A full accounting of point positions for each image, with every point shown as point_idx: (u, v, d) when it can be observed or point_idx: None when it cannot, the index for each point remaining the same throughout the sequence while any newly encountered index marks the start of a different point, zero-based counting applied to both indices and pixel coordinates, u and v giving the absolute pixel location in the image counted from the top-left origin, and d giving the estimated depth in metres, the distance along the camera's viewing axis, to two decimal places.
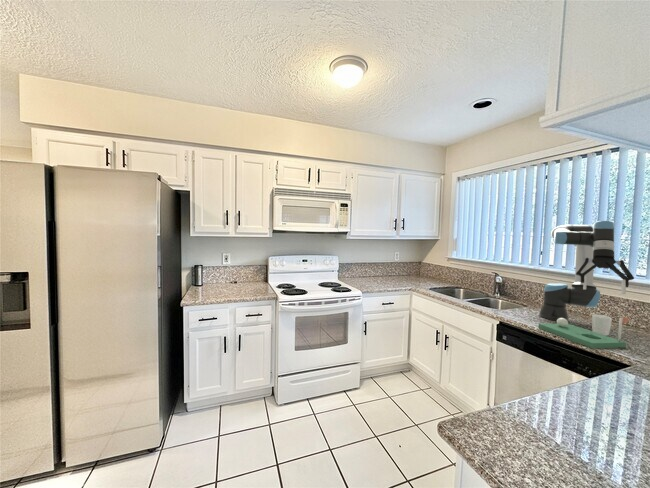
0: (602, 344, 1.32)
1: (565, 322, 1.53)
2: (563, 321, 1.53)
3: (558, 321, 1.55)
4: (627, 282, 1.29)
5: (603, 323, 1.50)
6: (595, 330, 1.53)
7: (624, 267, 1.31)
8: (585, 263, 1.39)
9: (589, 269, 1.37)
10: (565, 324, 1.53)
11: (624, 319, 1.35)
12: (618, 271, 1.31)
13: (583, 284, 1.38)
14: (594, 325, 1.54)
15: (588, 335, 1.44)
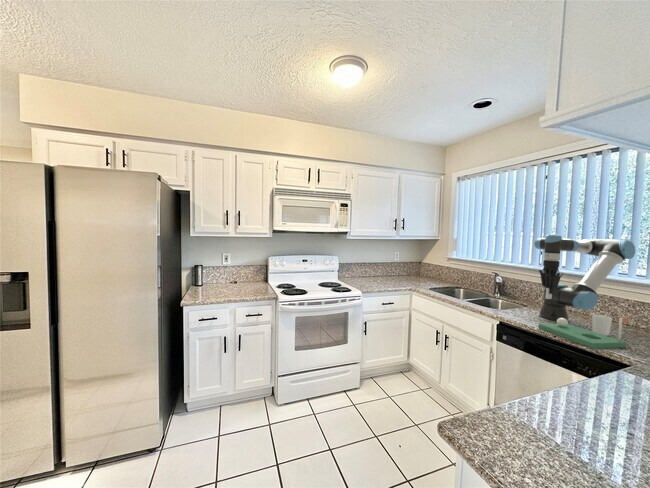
0: (602, 344, 1.32)
1: (565, 322, 1.53)
2: (563, 321, 1.53)
3: (558, 321, 1.55)
4: (550, 290, 1.62)
5: (603, 323, 1.50)
6: (595, 330, 1.53)
7: (555, 278, 1.59)
8: (541, 275, 1.67)
9: (545, 280, 1.64)
10: (565, 324, 1.53)
11: (624, 319, 1.35)
12: (550, 280, 1.62)
13: None
14: (594, 325, 1.54)
15: (588, 335, 1.44)
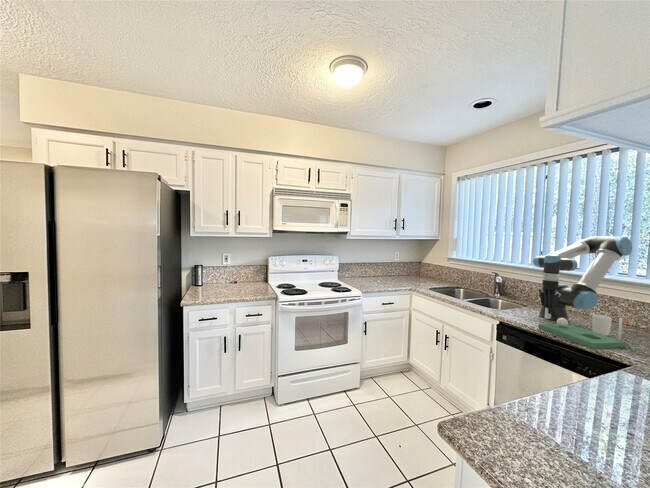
0: (602, 344, 1.32)
1: (565, 322, 1.53)
2: (563, 321, 1.53)
3: (558, 321, 1.55)
4: (549, 310, 1.62)
5: (603, 323, 1.50)
6: (595, 330, 1.53)
7: (554, 298, 1.59)
8: (540, 294, 1.68)
9: (545, 299, 1.65)
10: (565, 324, 1.53)
11: (624, 319, 1.35)
12: (549, 300, 1.62)
13: None
14: (594, 325, 1.54)
15: (588, 335, 1.44)
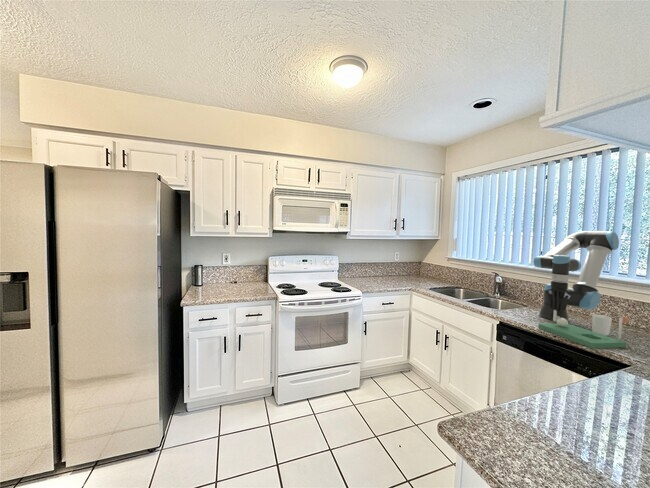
0: (602, 344, 1.32)
1: (565, 322, 1.53)
2: (563, 321, 1.53)
3: (558, 321, 1.55)
4: (558, 312, 1.57)
5: (603, 323, 1.50)
6: (595, 330, 1.53)
7: (563, 300, 1.54)
8: (548, 296, 1.62)
9: (553, 301, 1.59)
10: (565, 324, 1.53)
11: (624, 319, 1.35)
12: (558, 302, 1.57)
13: None
14: (594, 325, 1.54)
15: (588, 335, 1.44)
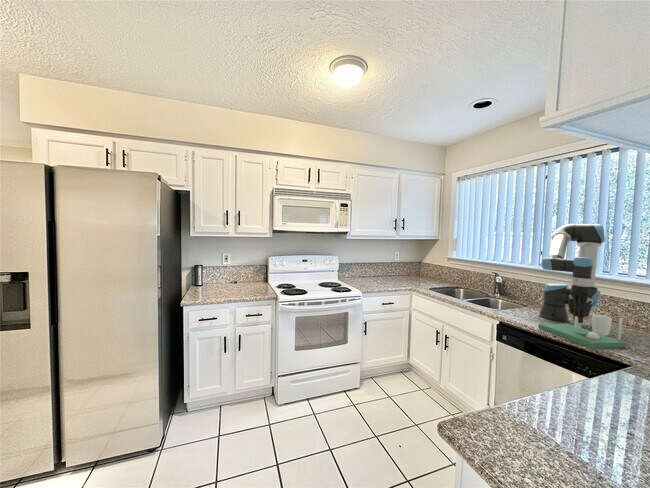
0: (602, 344, 1.32)
1: None
2: (596, 337, 1.37)
3: (591, 334, 1.39)
4: (580, 319, 1.45)
5: (603, 323, 1.50)
6: (595, 330, 1.53)
7: (586, 306, 1.42)
8: (568, 301, 1.51)
9: (574, 307, 1.48)
10: None
11: (624, 319, 1.35)
12: (579, 308, 1.45)
13: None
14: (594, 325, 1.54)
15: None
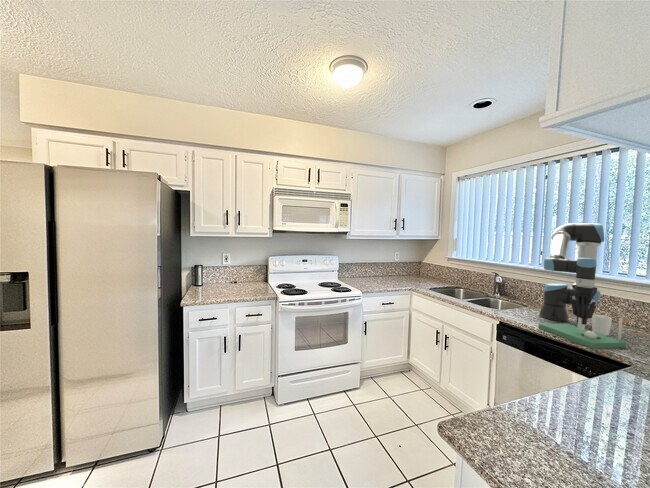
0: (602, 344, 1.32)
1: (594, 335, 1.39)
2: (593, 333, 1.40)
3: (587, 331, 1.42)
4: (583, 320, 1.44)
5: (603, 323, 1.50)
6: (595, 330, 1.53)
7: (590, 307, 1.41)
8: (572, 302, 1.49)
9: (577, 308, 1.46)
10: (593, 336, 1.39)
11: (624, 319, 1.35)
12: (583, 309, 1.44)
13: None
14: (594, 325, 1.54)
15: None
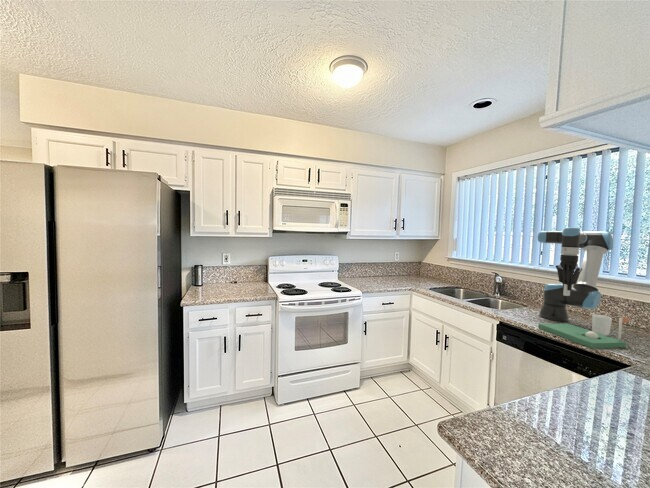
0: (602, 344, 1.32)
1: (596, 336, 1.39)
2: (595, 334, 1.39)
3: (589, 332, 1.41)
4: (569, 286, 1.52)
5: (603, 323, 1.50)
6: (595, 330, 1.53)
7: (574, 274, 1.49)
8: (558, 270, 1.58)
9: (563, 276, 1.55)
10: (594, 338, 1.39)
11: (624, 319, 1.35)
12: (568, 276, 1.52)
13: None
14: (594, 325, 1.54)
15: None
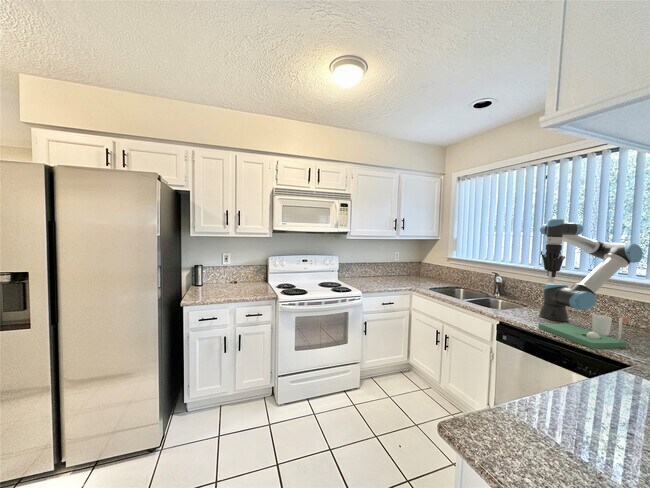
0: (602, 344, 1.32)
1: (598, 338, 1.38)
2: (597, 336, 1.38)
3: (591, 333, 1.40)
4: (553, 273, 1.64)
5: (603, 323, 1.50)
6: (595, 330, 1.53)
7: (557, 261, 1.61)
8: (543, 259, 1.69)
9: (548, 264, 1.66)
10: None
11: (624, 319, 1.35)
12: (552, 263, 1.64)
13: None
14: (594, 325, 1.54)
15: None
